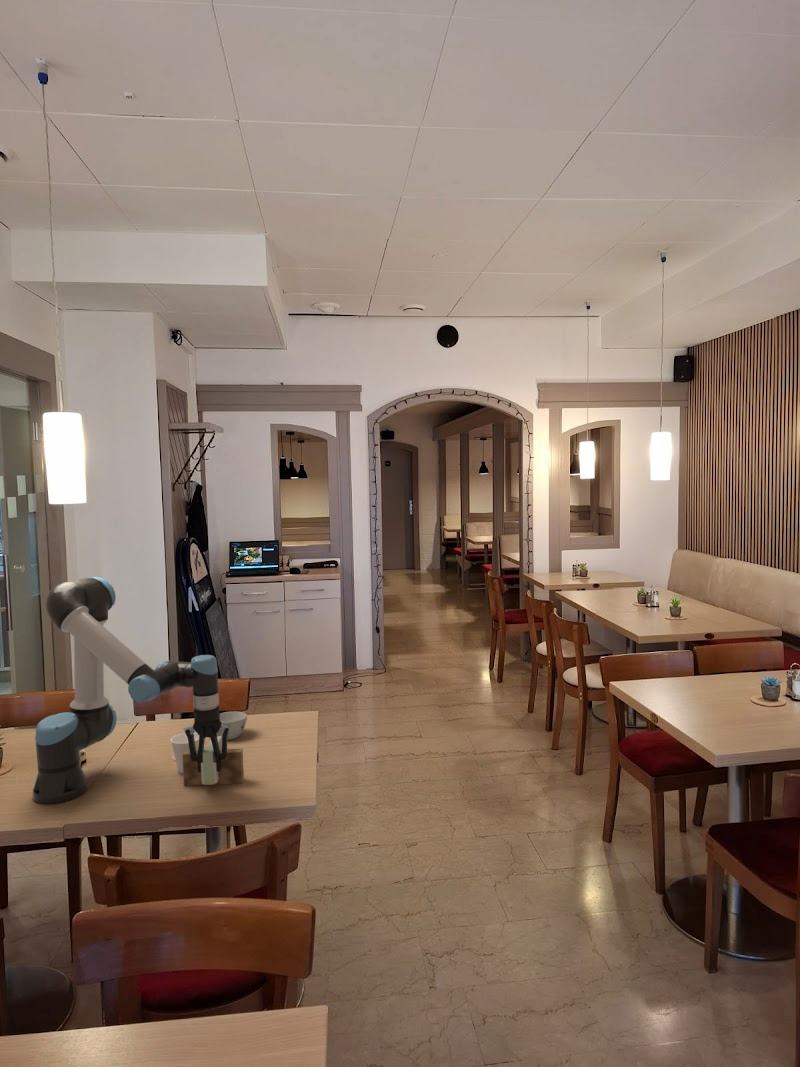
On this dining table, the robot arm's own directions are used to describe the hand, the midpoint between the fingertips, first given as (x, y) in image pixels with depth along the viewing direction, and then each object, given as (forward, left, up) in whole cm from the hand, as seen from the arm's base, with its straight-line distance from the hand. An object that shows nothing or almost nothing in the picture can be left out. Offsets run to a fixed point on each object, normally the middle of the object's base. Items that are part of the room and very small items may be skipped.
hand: (210, 781), depth 216 cm
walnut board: (0, +6, -3) cm, 6 cm away
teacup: (-4, +45, -3) cm, 45 cm away
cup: (-11, +16, -3) cm, 20 cm away
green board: (0, +6, 0) cm, 6 cm away
